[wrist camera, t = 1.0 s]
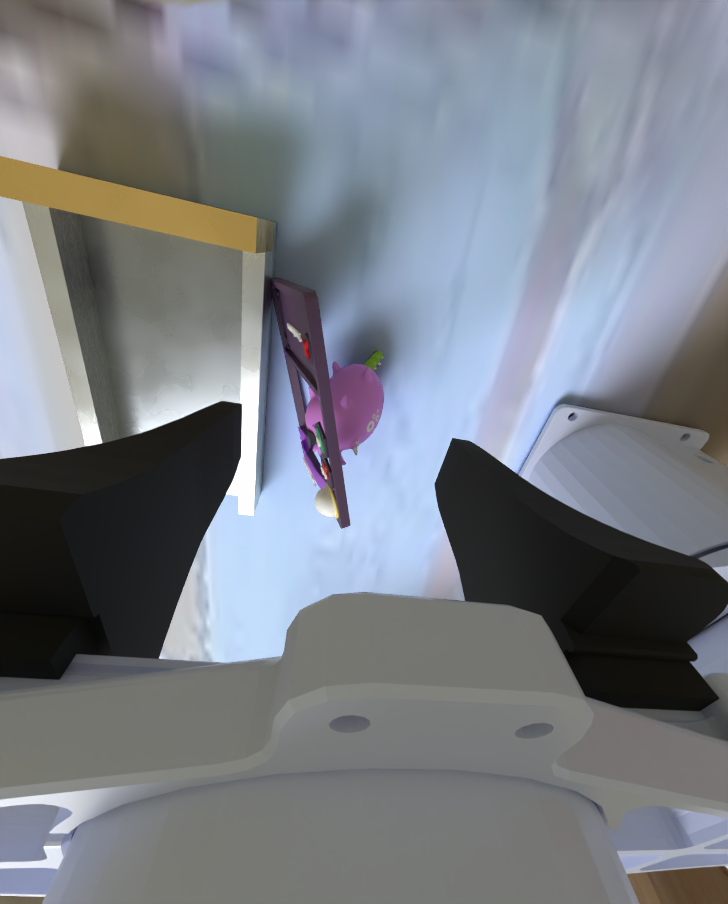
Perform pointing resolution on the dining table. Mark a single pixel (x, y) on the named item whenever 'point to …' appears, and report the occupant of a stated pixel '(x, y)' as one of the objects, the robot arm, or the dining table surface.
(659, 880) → the wooden block
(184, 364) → the drawer
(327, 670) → the robot arm
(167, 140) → the dining table surface
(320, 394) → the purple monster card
